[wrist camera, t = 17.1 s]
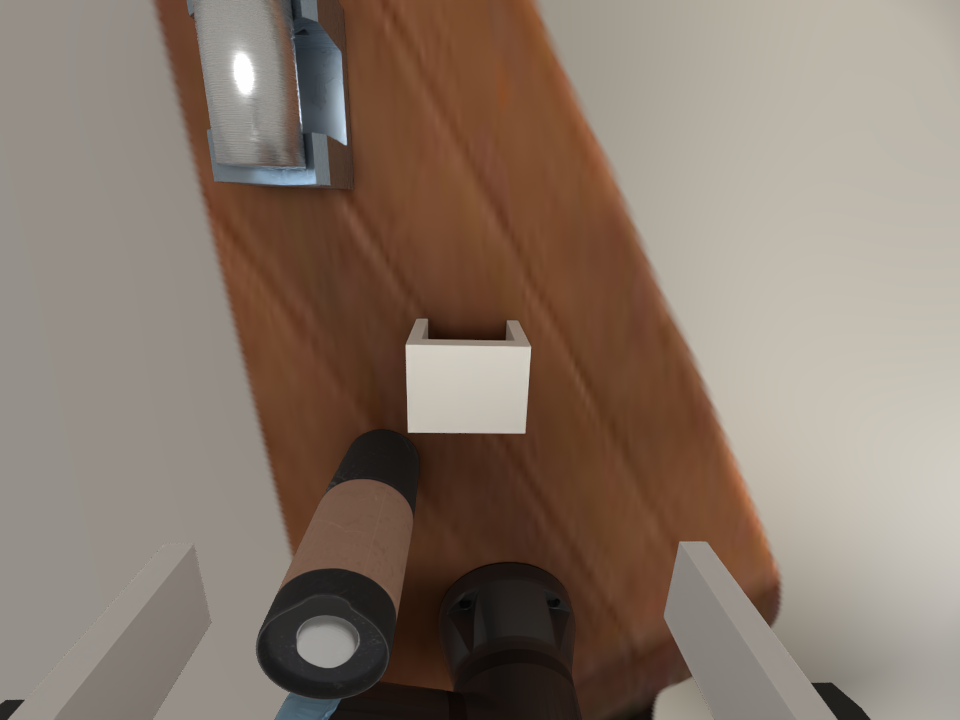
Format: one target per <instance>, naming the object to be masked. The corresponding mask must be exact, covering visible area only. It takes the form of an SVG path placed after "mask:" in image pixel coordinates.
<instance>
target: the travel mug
mask: <svg viewBox="0 0 960 720" xmlns="http://www.w3.org/2000/svg"><path fill="white" fill-rule="evenodd" d="M418 475H419V457H418V453H417V451H416V449H415V447H414V446H413V444H412V443H411V442H410V441H409V440H408V439H407V438H405V437H404V436H402V435H401V434H398V433H396V432H393V431H388V430H375V431H371V432H368V433H365V434H363V435H362V436H360V437H359V438H357V439H356V440H355V441H354V442H353V444H352V445H351V447H350V448H349V450H348V451H347V453H346V455H345V457H344V459H343V460H342V462H341V464H340V466H339V468H338V470H337V471H336V473H335V475H334V477H333V479H332V481H331V483H330V484H329V486H328V488H327V490H326V492H325V494H324V495H323V497H322V499H321V501H320V503H319V505H318V507H317V510H316V512H315V514H314V516H313V518H312V520H311V522H310V524H309V527H308V529H307V531H306V533H305V535H304V537H303V539H302V542H301V544H300V546H299V548H298V550H297V552H296V554H295V556H294V559H293V561H292V563H291V565H290V567H289V569H288V571H287V574H286V576H285V578H284V580H283V582H282V584H281V586H280V588H279V591H278V593H277V595H276V597H275V599H274V602H273V603H272V606H271V608H270V610H269V612H268V614H267V616H266V618H265V620H264V623H263V625H262V627H261V629H260V632H259V634H258V638H257V643H256V654H257V659H258V662H259V664H260V666H261V668H262V670H263V671H264V673H265V674H266V675H267V676H268V677H269V679H270V680H272V681H273V682H274V683H275V684H277V685H278V686H279V687H281V688H282V689H284V690H286V691H288V692H290V693H293V694H295V695H298V696H302V697H305V698H310V699H317V700H337V699H343V698H348V697H351V696H354V695H357V694H360V693H362V692H364V691H366V690H367V689H369V688H370V687H372V686H373V685H374V684H375V683H377V682H378V680H379V679H380V678H381V677H382V676H383V674H384V672H385V671H386V669H387V666H388V664H389V661H390V656H391V651H392V645H393V640H394V634H395V628H396V622H397V616H398V610H399V604H400V598H401V593H402V587H403V581H404V575H405V569H406V563H407V557H408V552H409V546H410V540H411V534H412V528H413V521H414V512H415V503H416V494H417V484H418Z"/></svg>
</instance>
